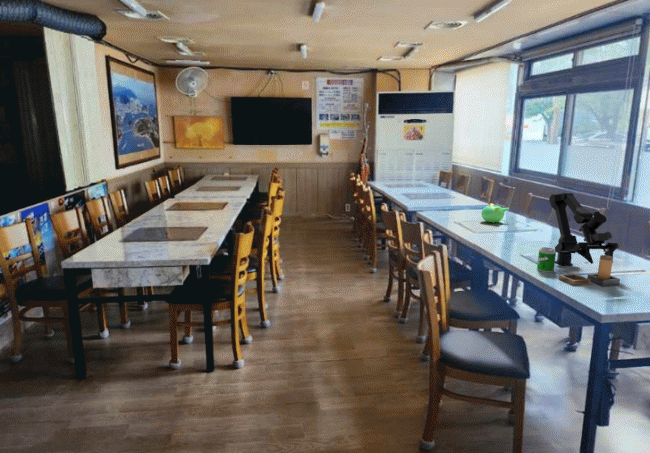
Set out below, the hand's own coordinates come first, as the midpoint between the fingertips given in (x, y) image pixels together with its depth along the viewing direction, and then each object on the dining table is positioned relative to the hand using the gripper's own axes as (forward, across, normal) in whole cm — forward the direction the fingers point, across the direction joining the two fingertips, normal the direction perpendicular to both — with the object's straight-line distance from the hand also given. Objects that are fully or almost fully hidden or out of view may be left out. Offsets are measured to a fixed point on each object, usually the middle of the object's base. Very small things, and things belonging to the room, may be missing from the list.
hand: (602, 263), depth 206 cm
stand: (+8, -13, +5) cm, 16 cm away
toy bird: (-93, +7, +108) cm, 143 cm away
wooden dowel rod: (+7, 0, +4) cm, 8 cm away
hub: (+8, 0, +5) cm, 9 cm away
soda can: (-4, -18, +18) cm, 25 cm away
